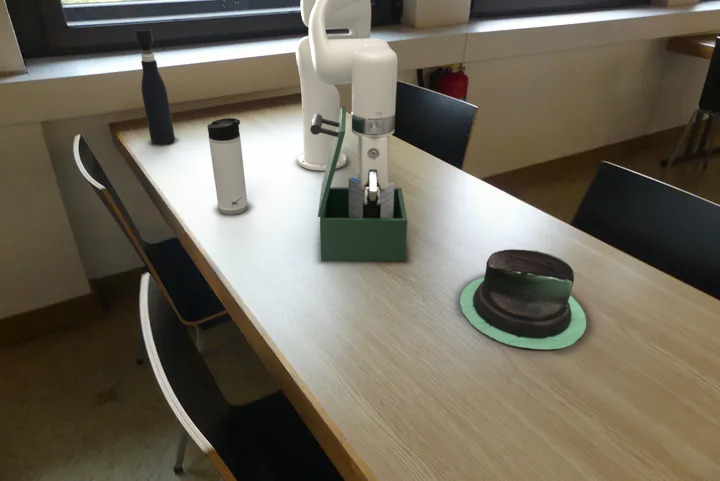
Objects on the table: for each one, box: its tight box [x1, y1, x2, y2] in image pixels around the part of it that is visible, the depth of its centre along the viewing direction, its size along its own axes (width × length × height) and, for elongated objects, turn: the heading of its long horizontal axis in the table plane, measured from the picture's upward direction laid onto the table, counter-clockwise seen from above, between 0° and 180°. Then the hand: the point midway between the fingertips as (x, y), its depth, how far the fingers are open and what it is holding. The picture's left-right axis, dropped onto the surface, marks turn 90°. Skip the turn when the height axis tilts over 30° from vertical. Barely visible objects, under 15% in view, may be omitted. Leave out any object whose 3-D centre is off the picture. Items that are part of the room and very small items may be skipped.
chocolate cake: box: [459, 248, 587, 350], centre depth 86 cm, size 15×19×20 cm
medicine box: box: [348, 173, 395, 218], centre depth 101 cm, size 8×4×9 cm, turn 47°
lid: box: [310, 106, 347, 218], centre depth 96 cm, size 16×14×6 cm
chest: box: [319, 186, 408, 263], centre depth 103 cm, size 16×14×9 cm
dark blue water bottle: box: [134, 27, 176, 146], centre depth 144 cm, size 6×6×30 cm
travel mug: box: [206, 117, 249, 216], centre depth 112 cm, size 6×7×20 cm
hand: (370, 210), depth 102 cm, fingers closed on medicine box, 8 cm apart
